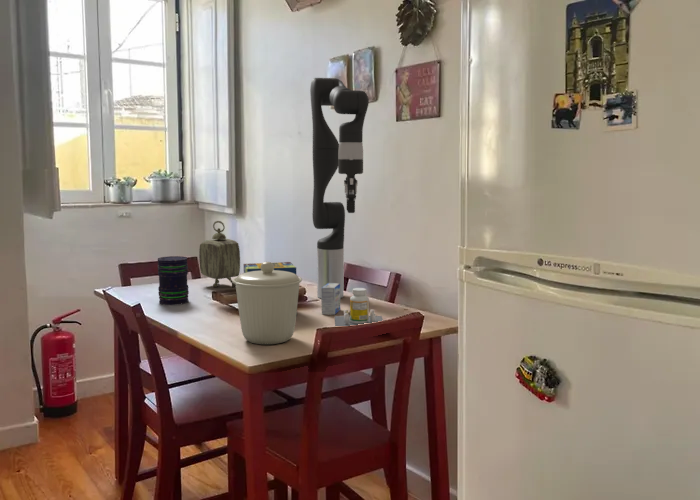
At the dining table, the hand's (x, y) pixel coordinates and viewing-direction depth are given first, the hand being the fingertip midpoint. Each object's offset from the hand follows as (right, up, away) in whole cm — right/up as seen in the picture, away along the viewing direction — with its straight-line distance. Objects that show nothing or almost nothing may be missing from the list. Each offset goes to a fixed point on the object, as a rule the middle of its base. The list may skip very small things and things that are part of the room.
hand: (350, 211), depth 205 cm
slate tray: (+3, -34, -12) cm, 36 cm away
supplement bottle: (+3, -33, -12) cm, 35 cm away
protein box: (-25, -32, +5) cm, 41 cm away
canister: (-22, -36, -25) cm, 49 cm away
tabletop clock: (-50, -26, +51) cm, 76 cm away
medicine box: (-6, -32, +8) cm, 33 cm away
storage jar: (-60, -29, +23) cm, 70 cm away
